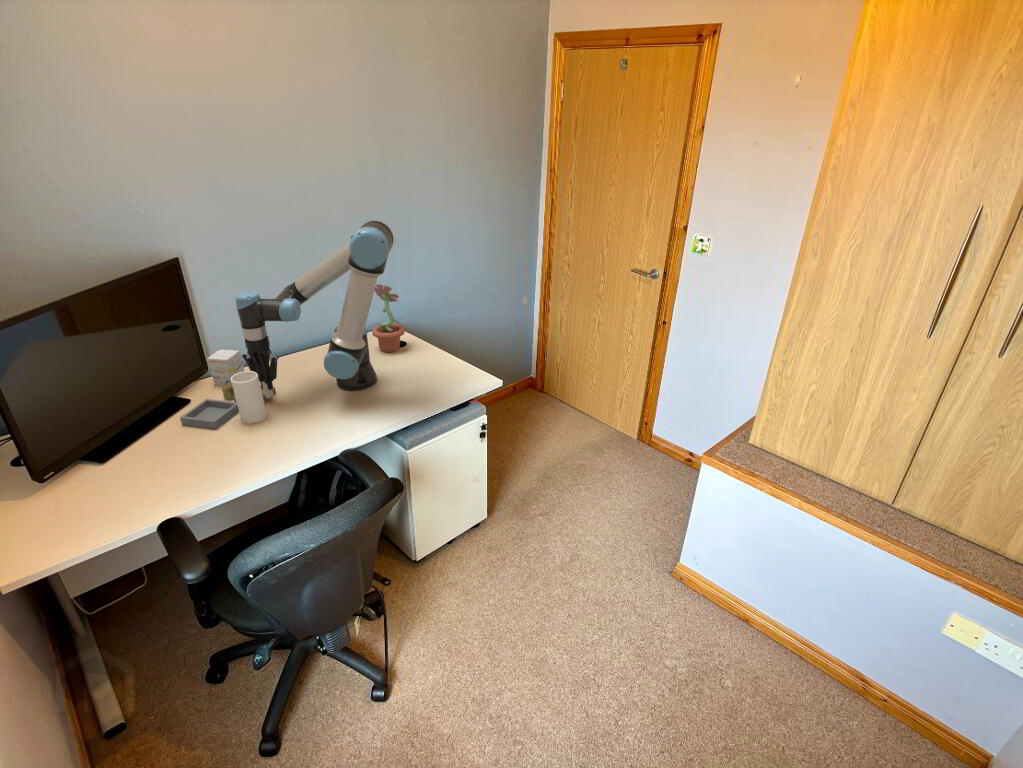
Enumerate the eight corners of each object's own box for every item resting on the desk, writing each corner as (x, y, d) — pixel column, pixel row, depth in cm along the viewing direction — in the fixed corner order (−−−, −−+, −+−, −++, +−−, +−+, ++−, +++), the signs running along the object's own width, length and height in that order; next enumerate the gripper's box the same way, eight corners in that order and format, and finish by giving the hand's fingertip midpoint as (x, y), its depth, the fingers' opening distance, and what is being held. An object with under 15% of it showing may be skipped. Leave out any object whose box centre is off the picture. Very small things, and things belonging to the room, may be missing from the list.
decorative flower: (414, 346, 241) (409, 281, 227) (396, 358, 230) (389, 290, 216) (386, 340, 246) (379, 276, 232) (367, 351, 235) (359, 285, 221)
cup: (272, 413, 189) (263, 373, 181) (255, 425, 182) (244, 384, 174) (253, 409, 191) (243, 369, 183) (235, 421, 184) (224, 379, 177)
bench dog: (242, 392, 202) (239, 380, 199) (232, 400, 197) (228, 388, 194) (235, 391, 202) (232, 379, 200) (224, 399, 197) (221, 387, 195)
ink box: (246, 376, 213) (240, 350, 207) (235, 387, 206) (227, 359, 200) (226, 375, 214) (219, 348, 208) (213, 385, 206) (206, 358, 201)
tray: (241, 410, 191) (239, 402, 189) (216, 429, 179) (214, 422, 178) (208, 406, 193) (206, 398, 191) (182, 425, 182) (179, 417, 180)
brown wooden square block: (276, 394, 202) (274, 387, 200) (260, 407, 193) (258, 400, 192) (252, 391, 203) (250, 384, 202) (235, 404, 195) (233, 397, 193)
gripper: (279, 334, 187) (291, 393, 199) (245, 331, 189) (259, 389, 201) (266, 342, 181) (280, 403, 192) (232, 339, 183) (247, 399, 194)
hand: (269, 396), depth 196 cm, fingers closed
